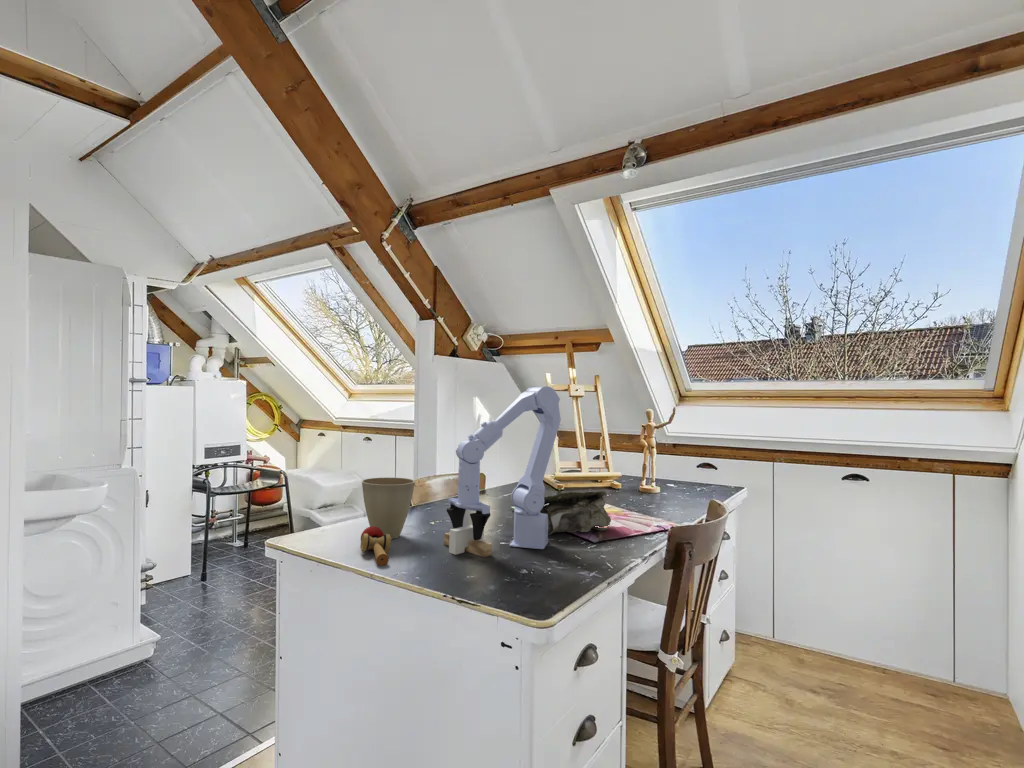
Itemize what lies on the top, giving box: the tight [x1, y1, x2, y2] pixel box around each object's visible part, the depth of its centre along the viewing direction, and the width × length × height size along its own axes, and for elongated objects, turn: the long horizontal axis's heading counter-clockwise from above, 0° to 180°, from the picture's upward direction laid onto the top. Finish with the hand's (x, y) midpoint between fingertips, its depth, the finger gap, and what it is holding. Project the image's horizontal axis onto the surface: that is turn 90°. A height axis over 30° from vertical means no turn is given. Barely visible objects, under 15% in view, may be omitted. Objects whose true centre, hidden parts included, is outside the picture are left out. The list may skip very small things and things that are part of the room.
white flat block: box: [448, 524, 485, 556], centre depth 146 cm, size 2×10×6 cm, turn 137°
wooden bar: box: [443, 531, 493, 558], centre depth 147 cm, size 16×2×3 cm, turn 47°
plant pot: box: [361, 476, 416, 540], centre depth 158 cm, size 15×15×16 cm
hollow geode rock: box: [540, 490, 612, 536], centre depth 168 cm, size 28×13×15 cm
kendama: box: [360, 526, 392, 566], centre depth 140 cm, size 8×6×18 cm
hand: (467, 536), depth 147 cm, fingers open, 7 cm apart
